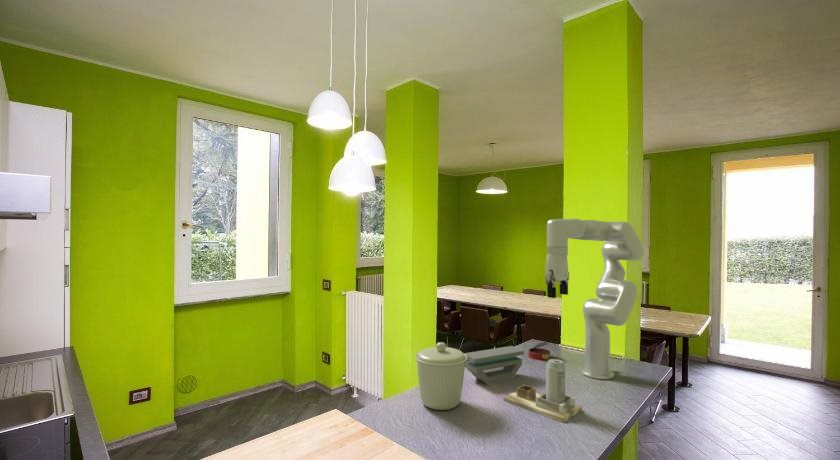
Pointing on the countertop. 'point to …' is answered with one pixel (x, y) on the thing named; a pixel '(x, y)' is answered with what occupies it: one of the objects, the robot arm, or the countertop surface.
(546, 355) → the canned food
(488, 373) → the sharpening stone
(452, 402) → the canister
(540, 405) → the wooden organizer tray
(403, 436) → the countertop surface
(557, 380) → the energy drink can
